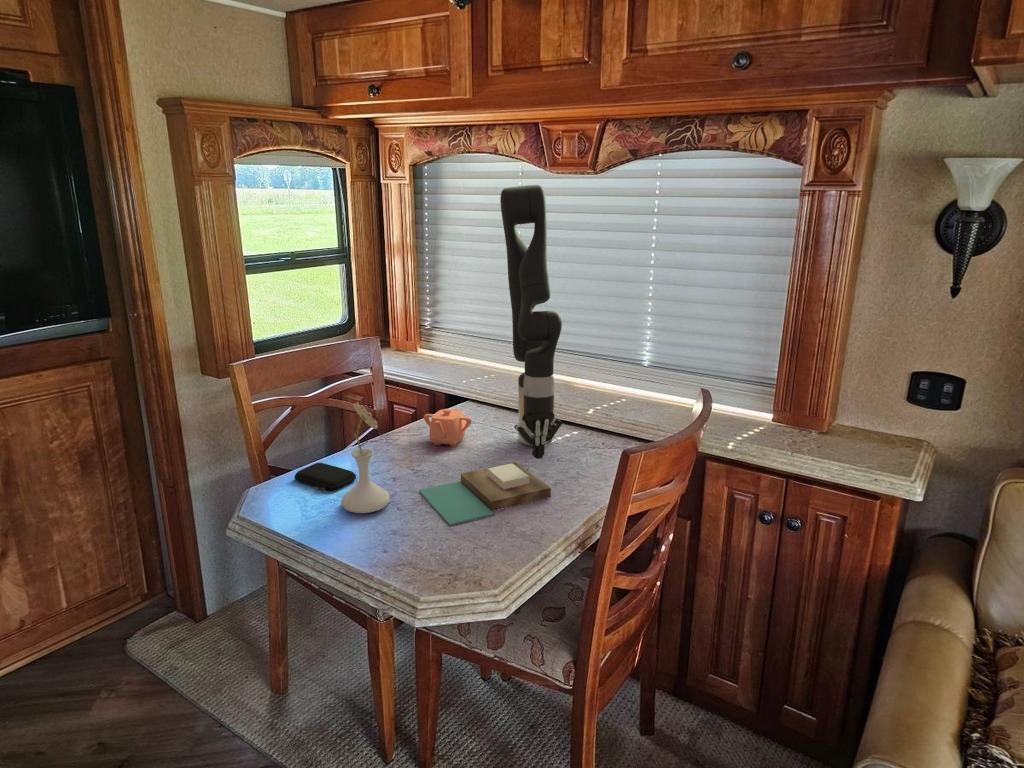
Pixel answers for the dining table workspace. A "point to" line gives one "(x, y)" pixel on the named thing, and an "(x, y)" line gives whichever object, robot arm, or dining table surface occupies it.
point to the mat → (455, 503)
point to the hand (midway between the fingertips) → (538, 457)
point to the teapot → (447, 426)
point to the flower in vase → (364, 477)
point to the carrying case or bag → (325, 477)
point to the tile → (508, 476)
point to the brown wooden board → (502, 497)
